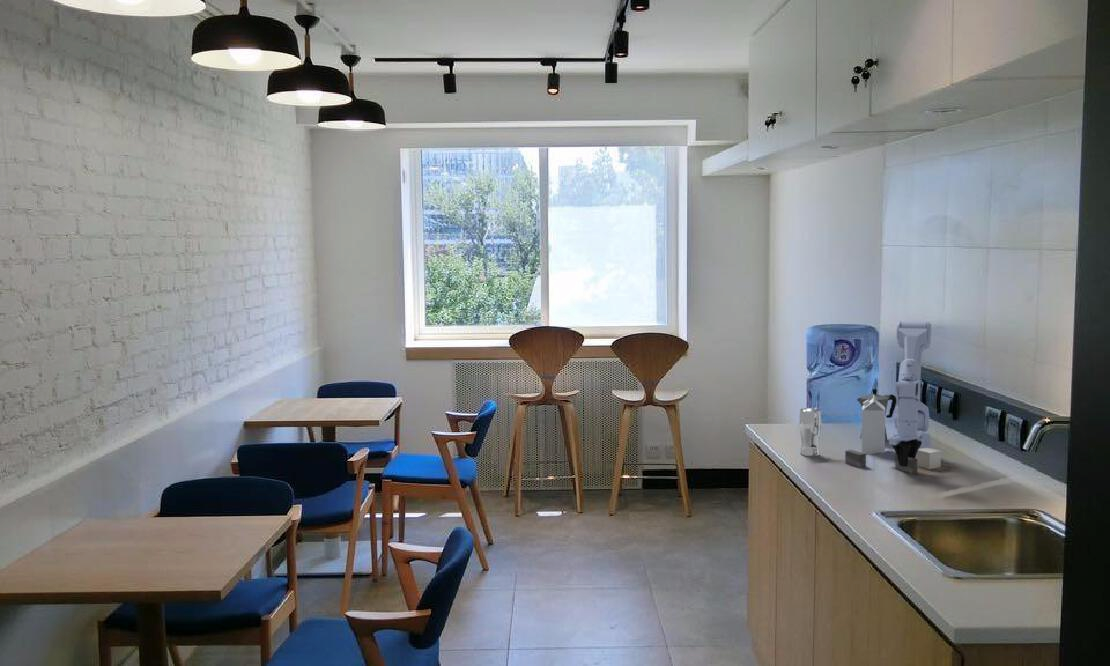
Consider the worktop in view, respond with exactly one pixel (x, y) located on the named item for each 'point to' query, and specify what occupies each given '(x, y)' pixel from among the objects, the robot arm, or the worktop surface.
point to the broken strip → (855, 458)
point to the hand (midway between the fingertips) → (906, 465)
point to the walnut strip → (917, 470)
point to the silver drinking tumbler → (810, 431)
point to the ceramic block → (928, 458)
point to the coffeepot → (883, 401)
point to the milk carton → (873, 427)
